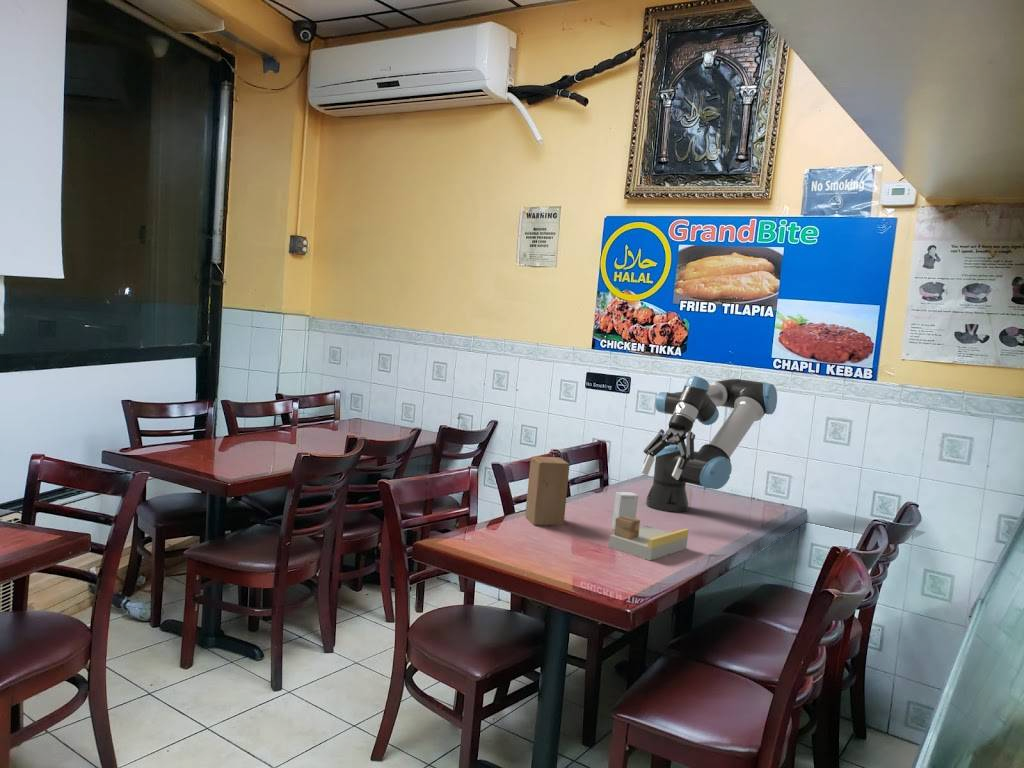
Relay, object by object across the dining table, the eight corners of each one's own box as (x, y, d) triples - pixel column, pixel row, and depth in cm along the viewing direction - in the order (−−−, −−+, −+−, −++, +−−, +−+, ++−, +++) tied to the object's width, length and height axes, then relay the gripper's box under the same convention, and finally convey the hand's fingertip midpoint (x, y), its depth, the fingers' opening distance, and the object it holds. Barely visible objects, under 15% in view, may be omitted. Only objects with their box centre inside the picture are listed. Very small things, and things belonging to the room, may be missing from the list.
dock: (646, 536, 234) (648, 518, 234) (686, 549, 225) (688, 529, 224) (608, 547, 219) (610, 527, 219) (649, 560, 210) (652, 540, 210)
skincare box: (616, 532, 236) (620, 495, 235) (611, 528, 240) (615, 491, 239) (634, 532, 238) (638, 495, 237) (628, 528, 242) (632, 492, 241)
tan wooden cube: (624, 532, 224) (625, 515, 223) (638, 536, 220) (640, 520, 220) (614, 535, 220) (616, 518, 219) (628, 539, 217) (630, 522, 216)
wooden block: (533, 525, 235) (539, 462, 233) (524, 516, 245) (530, 455, 243) (564, 526, 238) (570, 463, 236) (553, 517, 247) (559, 457, 246)
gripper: (649, 412, 260) (625, 466, 253) (706, 414, 239) (681, 473, 233) (662, 423, 263) (638, 477, 257) (719, 426, 243) (695, 485, 237)
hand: (659, 475), depth 245 cm, fingers open, 13 cm apart
